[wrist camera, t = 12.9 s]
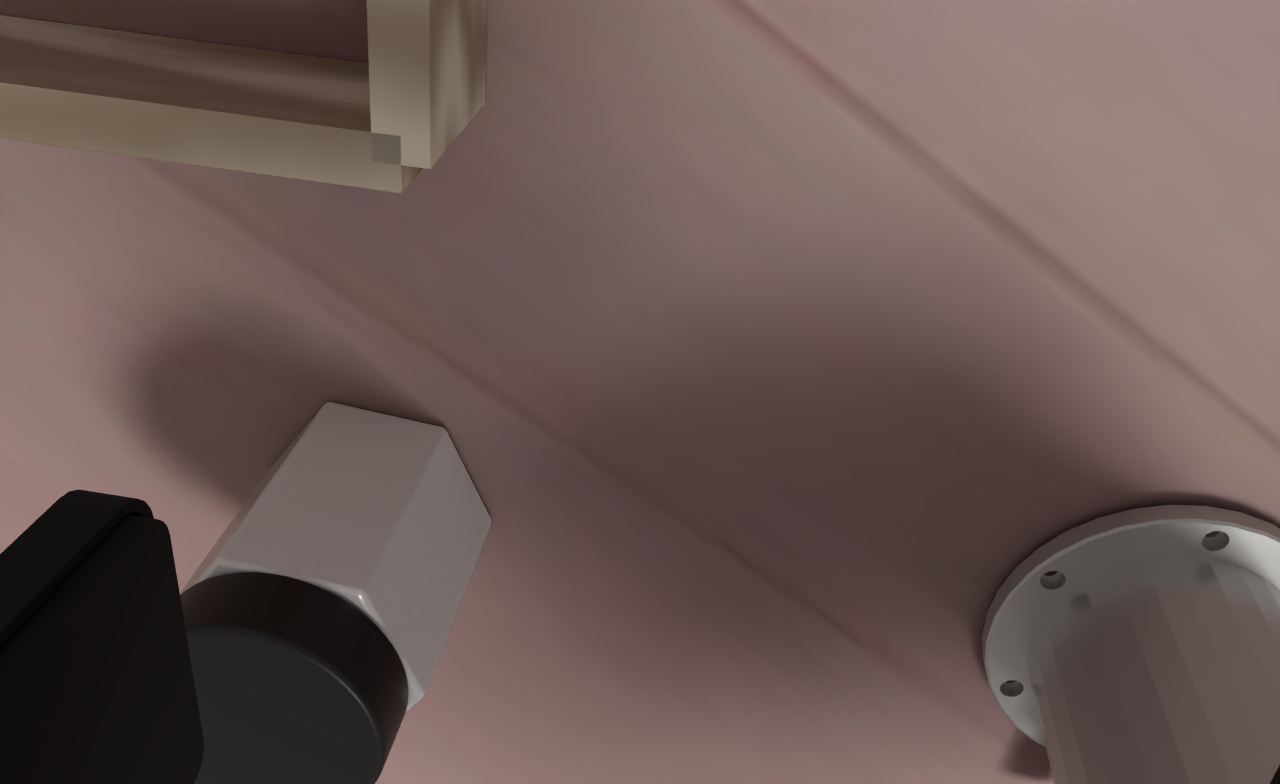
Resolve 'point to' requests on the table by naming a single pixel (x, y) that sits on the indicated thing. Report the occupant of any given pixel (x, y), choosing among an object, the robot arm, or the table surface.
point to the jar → (331, 600)
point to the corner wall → (254, 95)
